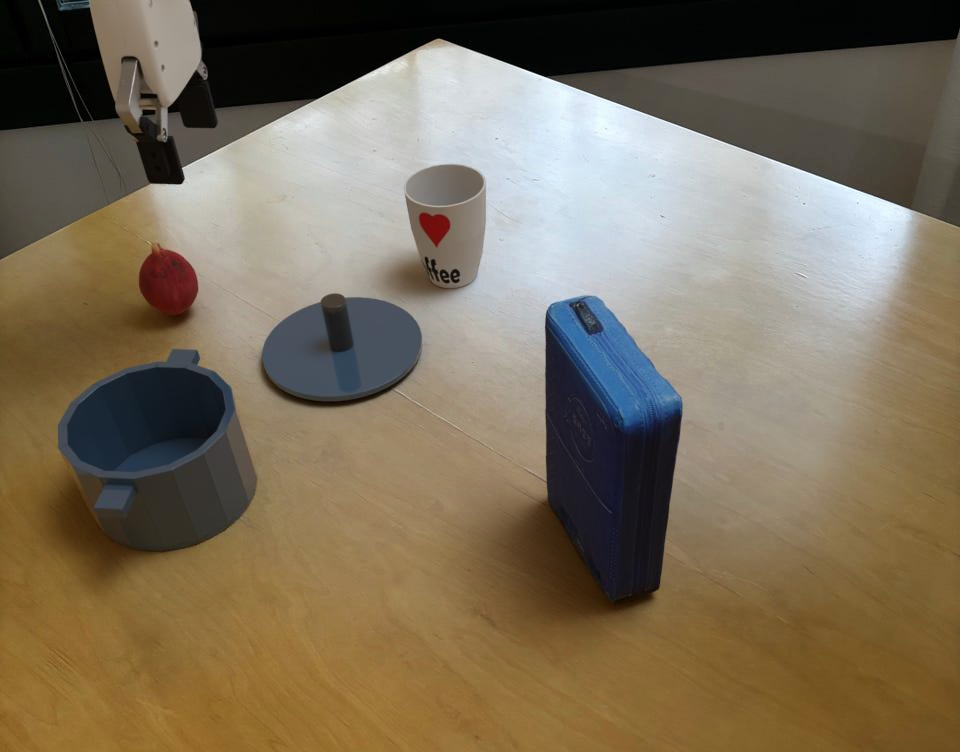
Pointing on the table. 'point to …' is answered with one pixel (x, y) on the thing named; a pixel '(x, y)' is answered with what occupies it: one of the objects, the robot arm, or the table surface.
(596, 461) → the blue case
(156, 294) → the red pomegranate
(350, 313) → the lid
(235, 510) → the pot
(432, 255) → the cup
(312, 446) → the table surface
